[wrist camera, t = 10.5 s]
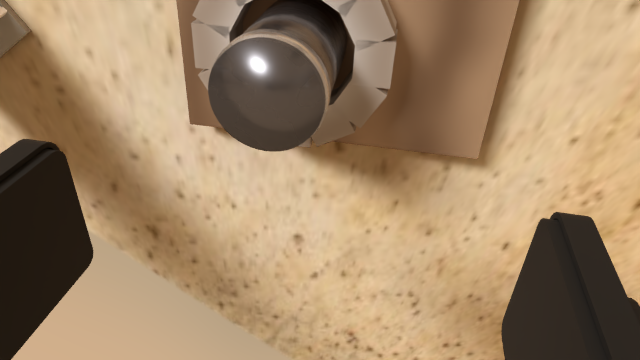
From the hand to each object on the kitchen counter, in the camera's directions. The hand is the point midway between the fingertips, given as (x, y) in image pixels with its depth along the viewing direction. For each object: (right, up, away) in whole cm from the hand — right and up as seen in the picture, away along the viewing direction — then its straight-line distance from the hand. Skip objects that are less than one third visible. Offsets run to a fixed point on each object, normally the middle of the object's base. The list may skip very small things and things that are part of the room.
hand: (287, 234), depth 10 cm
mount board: (+2, +10, +19) cm, 21 cm away
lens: (0, +9, +17) cm, 19 cm away
